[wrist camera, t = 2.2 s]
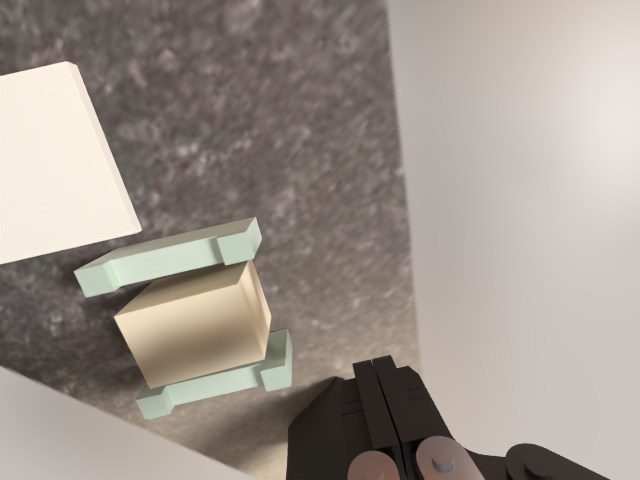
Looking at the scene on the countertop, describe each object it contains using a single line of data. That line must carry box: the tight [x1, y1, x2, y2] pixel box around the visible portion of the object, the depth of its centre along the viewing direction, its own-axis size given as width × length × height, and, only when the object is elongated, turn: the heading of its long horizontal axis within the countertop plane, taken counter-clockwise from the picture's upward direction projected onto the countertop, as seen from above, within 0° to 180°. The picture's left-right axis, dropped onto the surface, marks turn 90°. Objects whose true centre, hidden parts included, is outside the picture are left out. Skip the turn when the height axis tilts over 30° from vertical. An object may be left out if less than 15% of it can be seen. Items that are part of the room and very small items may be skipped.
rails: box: [74, 217, 292, 420], centre depth 20 cm, size 10×10×4 cm
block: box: [114, 259, 271, 389], centre depth 20 cm, size 5×7×5 cm
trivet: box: [0, 61, 142, 264], centre depth 19 cm, size 10×10×1 cm
